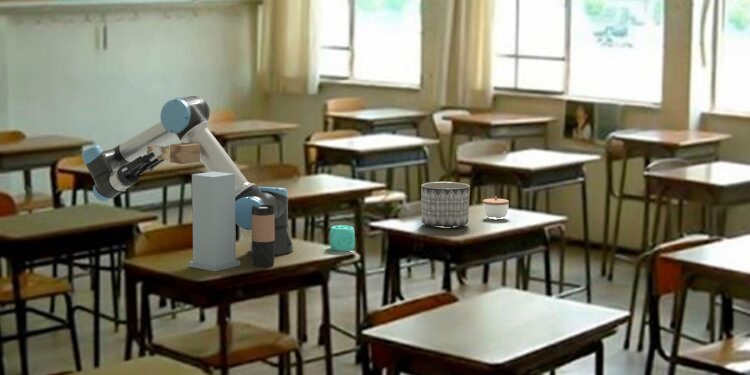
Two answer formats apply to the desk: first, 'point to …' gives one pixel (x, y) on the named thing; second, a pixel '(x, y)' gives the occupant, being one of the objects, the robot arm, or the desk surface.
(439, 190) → the planter
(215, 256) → the pedestal
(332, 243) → the decorative dice
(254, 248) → the travel mug
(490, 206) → the lidded jar
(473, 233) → the desk surface
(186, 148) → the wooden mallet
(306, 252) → the desk surface
